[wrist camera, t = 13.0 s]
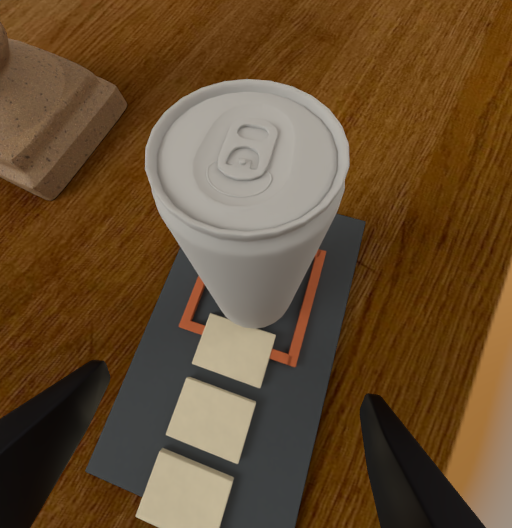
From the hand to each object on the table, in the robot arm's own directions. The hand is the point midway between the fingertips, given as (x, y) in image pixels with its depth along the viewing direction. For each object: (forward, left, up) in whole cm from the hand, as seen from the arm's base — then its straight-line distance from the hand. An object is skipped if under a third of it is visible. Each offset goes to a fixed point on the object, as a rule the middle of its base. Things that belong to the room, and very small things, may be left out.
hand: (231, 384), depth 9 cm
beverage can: (+4, +1, -7) cm, 9 cm away
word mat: (+2, +1, -8) cm, 8 cm away
